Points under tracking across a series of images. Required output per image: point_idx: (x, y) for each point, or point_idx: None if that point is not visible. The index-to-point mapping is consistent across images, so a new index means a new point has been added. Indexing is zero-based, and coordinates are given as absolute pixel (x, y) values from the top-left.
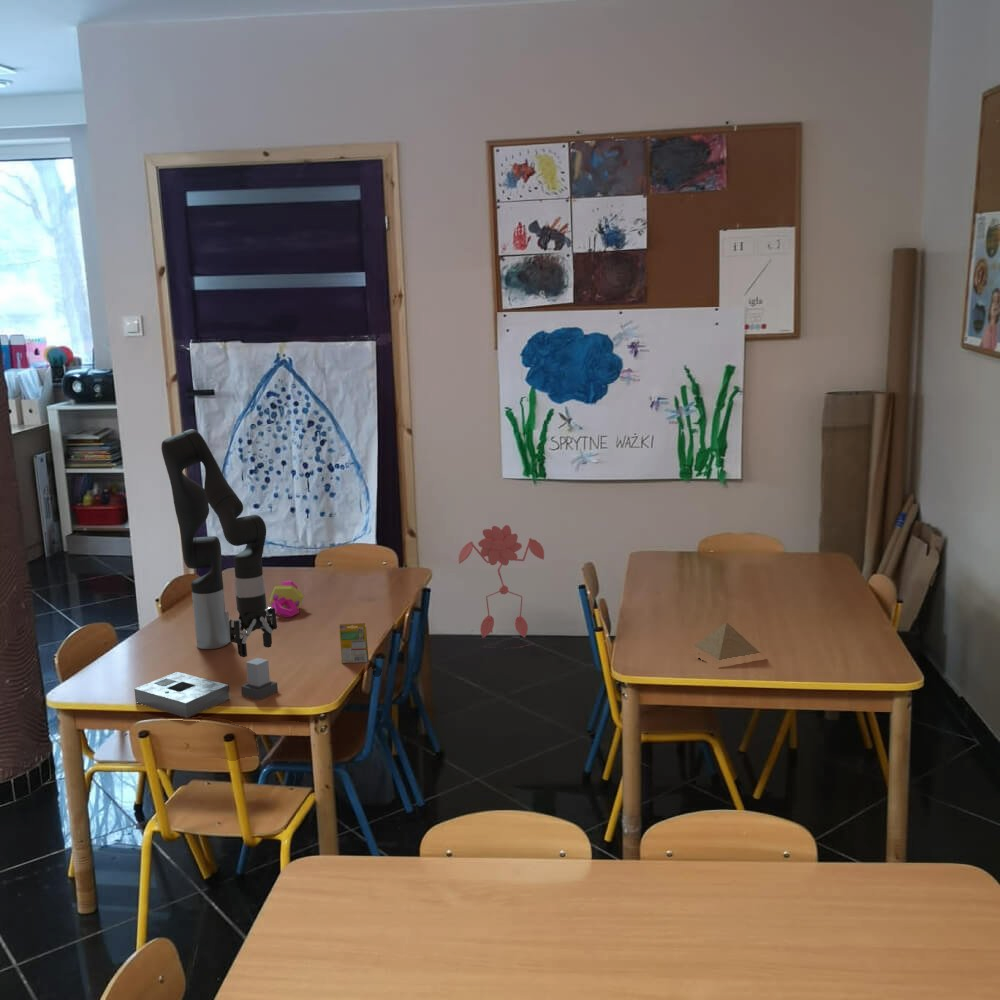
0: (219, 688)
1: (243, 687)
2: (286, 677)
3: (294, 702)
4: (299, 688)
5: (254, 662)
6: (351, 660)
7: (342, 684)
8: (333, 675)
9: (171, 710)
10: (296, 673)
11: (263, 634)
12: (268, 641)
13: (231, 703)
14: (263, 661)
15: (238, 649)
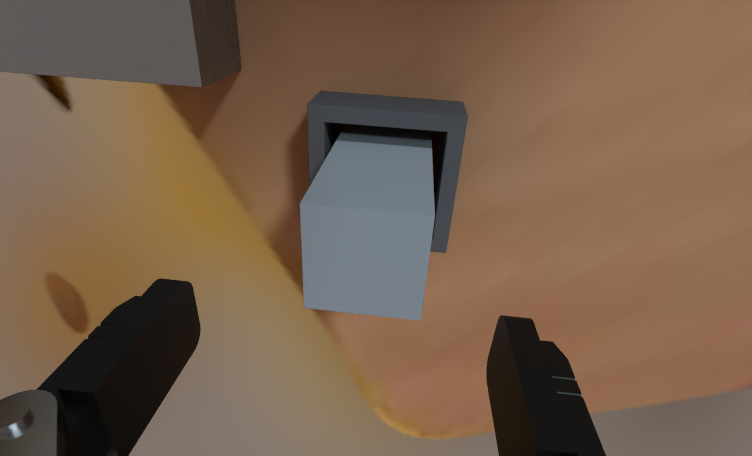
0: (129, 80)
1: (308, 124)
2: (652, 139)
3: (373, 347)
4: (515, 287)
5: (331, 265)
6: None
7: (610, 400)
8: (719, 329)
9: None
10: (732, 151)
11: (530, 443)
12: (495, 424)
13: (215, 121)
14: (381, 308)
15: (88, 349)
